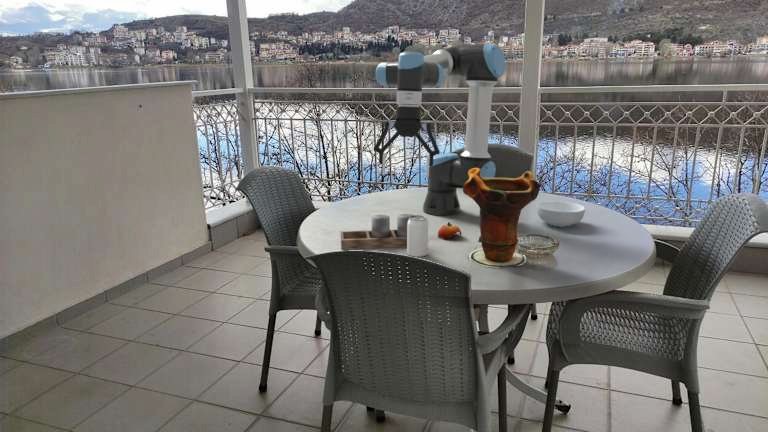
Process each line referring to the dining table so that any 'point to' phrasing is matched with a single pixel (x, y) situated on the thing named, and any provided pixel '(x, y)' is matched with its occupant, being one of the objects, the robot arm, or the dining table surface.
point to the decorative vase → (499, 215)
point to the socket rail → (369, 241)
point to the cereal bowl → (560, 213)
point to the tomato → (448, 231)
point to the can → (417, 236)
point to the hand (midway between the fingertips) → (405, 175)
